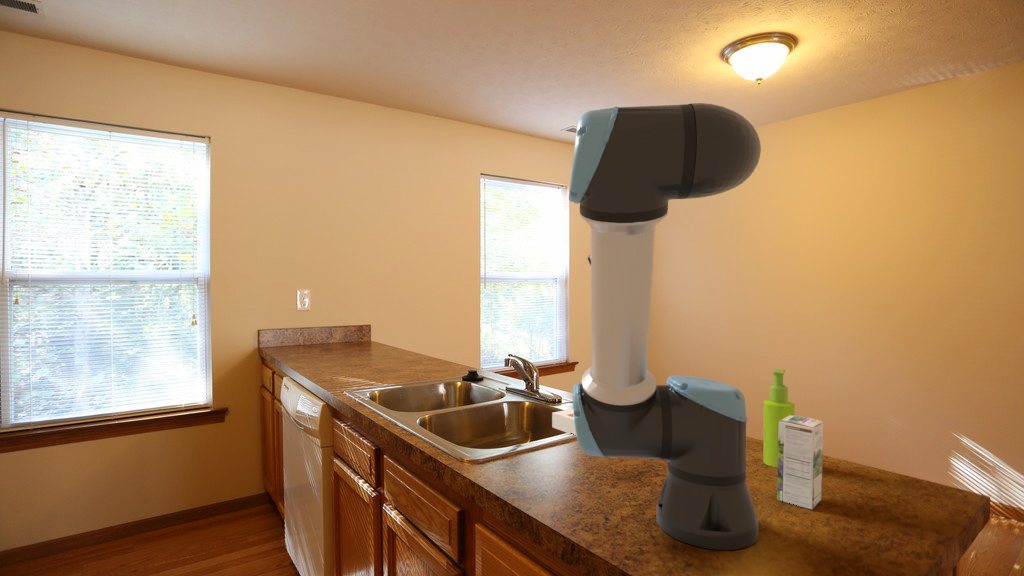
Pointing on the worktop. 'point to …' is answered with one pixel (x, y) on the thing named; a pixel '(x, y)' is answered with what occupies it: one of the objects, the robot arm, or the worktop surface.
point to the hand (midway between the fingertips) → (611, 329)
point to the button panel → (564, 421)
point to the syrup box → (800, 461)
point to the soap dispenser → (775, 417)
